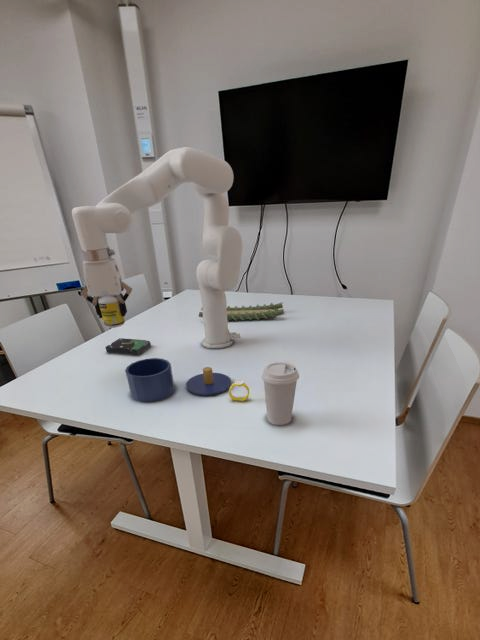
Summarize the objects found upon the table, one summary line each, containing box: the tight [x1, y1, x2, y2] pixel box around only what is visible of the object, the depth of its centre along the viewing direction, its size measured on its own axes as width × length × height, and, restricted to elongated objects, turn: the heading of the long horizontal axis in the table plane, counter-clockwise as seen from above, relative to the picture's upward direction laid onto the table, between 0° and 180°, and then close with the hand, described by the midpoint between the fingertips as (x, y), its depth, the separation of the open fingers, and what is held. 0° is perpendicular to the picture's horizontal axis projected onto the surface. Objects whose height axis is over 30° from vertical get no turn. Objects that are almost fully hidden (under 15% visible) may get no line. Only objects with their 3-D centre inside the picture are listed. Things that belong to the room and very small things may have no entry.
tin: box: [124, 357, 175, 403], centre depth 112 cm, size 14×14×8 cm
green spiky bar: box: [198, 302, 285, 322], centre depth 172 cm, size 41×14×5 cm, turn 88°
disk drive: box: [105, 337, 152, 356], centre depth 144 cm, size 10×3×15 cm
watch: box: [228, 379, 250, 402], centre depth 105 cm, size 6×3×6 cm, turn 84°
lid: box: [185, 366, 232, 396], centre depth 114 cm, size 15×15×6 cm
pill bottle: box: [98, 290, 126, 329], centre depth 113 cm, size 6×6×12 cm
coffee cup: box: [260, 361, 300, 426], centre depth 93 cm, size 10×10×15 cm
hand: (112, 315), depth 115 cm, fingers closed on pill bottle, 6 cm apart
